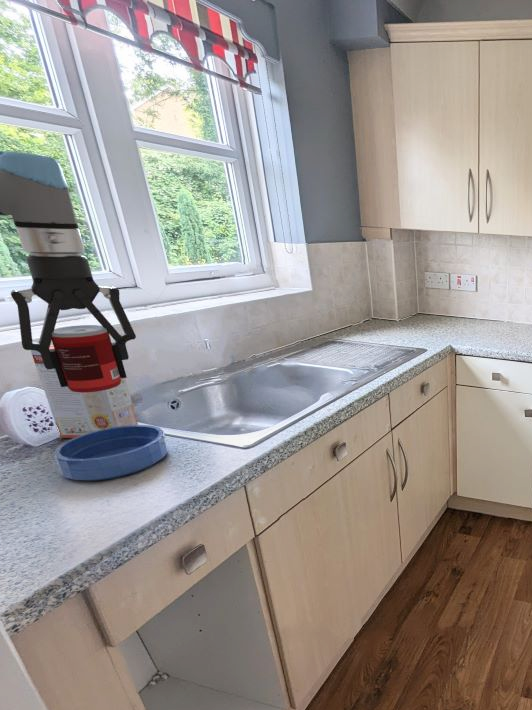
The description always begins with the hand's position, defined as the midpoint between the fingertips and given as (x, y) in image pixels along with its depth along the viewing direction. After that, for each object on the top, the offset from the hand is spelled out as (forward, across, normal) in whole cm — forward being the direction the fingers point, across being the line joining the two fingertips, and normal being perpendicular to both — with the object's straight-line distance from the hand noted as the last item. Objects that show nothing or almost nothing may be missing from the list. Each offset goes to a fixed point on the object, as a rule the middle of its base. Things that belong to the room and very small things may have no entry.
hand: (94, 380), depth 86 cm
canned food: (+1, 0, 0) cm, 1 cm away
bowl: (+19, 0, +3) cm, 19 cm away
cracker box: (+19, 0, +22) cm, 29 cm away
